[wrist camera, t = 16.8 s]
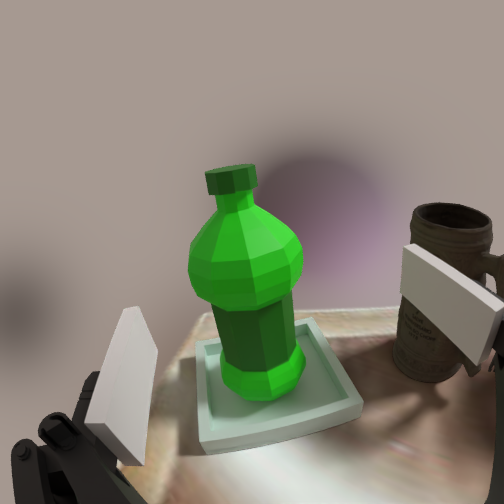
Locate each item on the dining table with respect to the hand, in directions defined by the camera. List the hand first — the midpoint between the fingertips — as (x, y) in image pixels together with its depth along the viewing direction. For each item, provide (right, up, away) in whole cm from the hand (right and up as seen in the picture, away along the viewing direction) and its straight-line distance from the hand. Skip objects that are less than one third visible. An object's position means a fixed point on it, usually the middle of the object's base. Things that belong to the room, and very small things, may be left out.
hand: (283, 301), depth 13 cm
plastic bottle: (0, -14, +20) cm, 24 cm away
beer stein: (+23, -12, +17) cm, 32 cm away
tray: (+1, -14, +20) cm, 25 cm away
